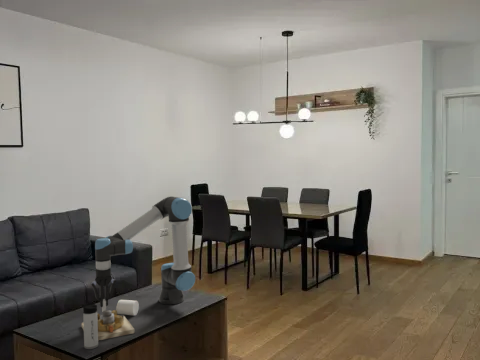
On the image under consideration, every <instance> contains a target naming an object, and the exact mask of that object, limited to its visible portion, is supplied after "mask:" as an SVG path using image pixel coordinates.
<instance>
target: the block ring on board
mask: <svg viewBox="0 0 480 360" xmlns="http://www.w3.org/2000/svg"><path fill="white" fill-rule="evenodd" d="M111 311H112V310H110V309H109V310H108V309H106V310H105V311H103V312H102V314H100V319H103V324H110V323H114V314H113V313H112V312H111ZM118 315H119V316H122V317H123V322H124V324H123V325H122V327H120V328H118V329H115V330H113V332H110V331H98V341H102V340H107V339H108V340H109V339H112V338H117V337H122V336H126V335H132V334H135V328H134V327H133V325H132V324H131V322H130V321H129V320H128V319H127V318H126V315H121V314H118ZM80 325H81V328H82V331H83V332H84V322H81V324H80Z"/></svg>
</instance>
